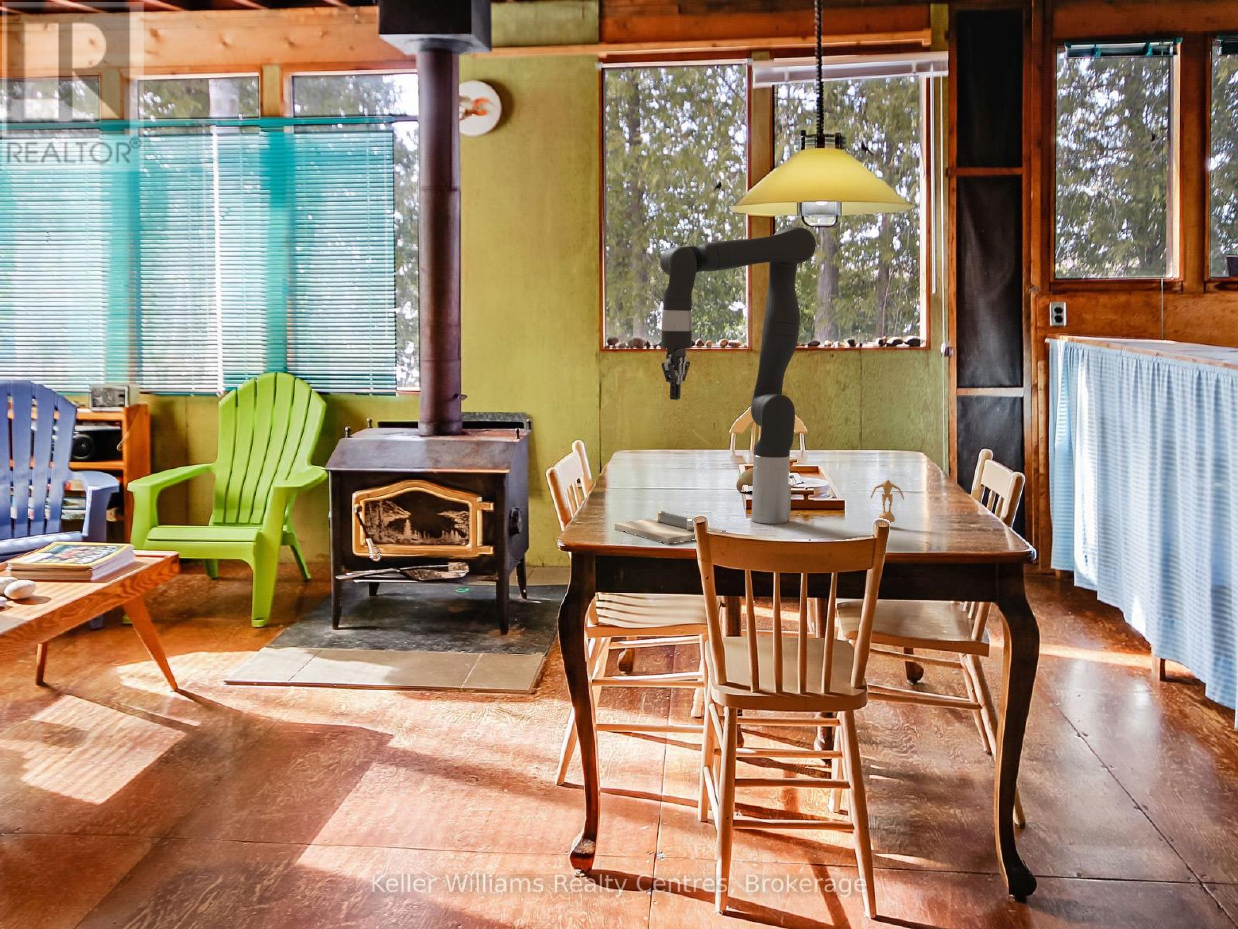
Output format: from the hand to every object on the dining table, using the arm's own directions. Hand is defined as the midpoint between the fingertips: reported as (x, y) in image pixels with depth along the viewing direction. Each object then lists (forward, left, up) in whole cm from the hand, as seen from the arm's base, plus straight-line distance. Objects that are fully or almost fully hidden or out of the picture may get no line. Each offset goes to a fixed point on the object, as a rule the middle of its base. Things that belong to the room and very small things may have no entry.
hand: (675, 399), depth 276 cm
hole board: (+6, +6, -32) cm, 33 cm away
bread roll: (-56, -27, -32) cm, 70 cm away
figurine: (-47, +29, -32) cm, 64 cm away
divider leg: (+4, +7, -30) cm, 31 cm away
